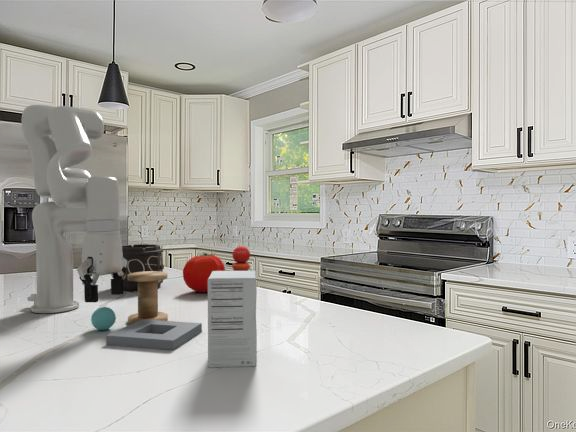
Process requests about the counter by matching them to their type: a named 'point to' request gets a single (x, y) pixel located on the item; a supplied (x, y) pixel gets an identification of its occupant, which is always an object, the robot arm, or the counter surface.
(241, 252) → the stacking toy
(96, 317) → the teal ball
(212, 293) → the supplement box
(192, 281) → the tomato
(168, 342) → the square hole board
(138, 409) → the counter surface
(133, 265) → the black lettered canister
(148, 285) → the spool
